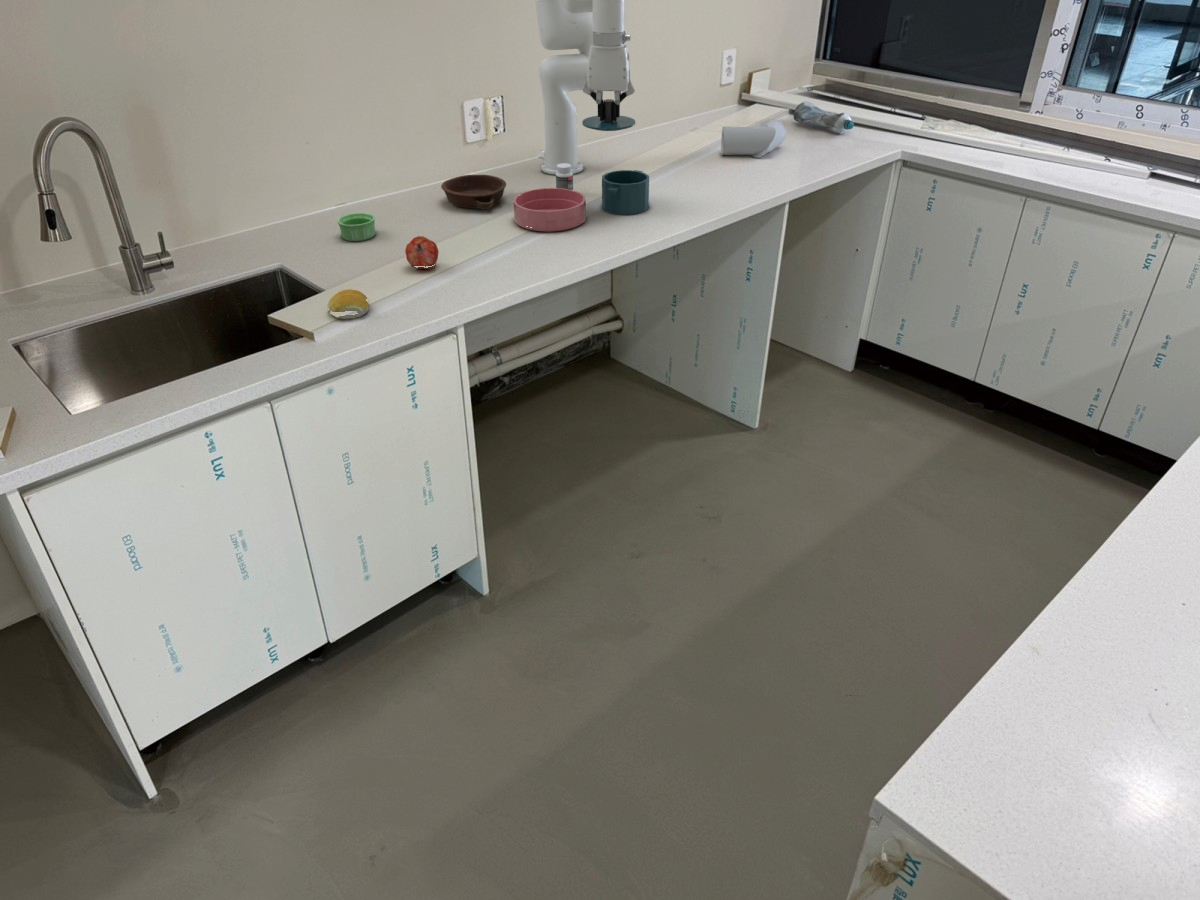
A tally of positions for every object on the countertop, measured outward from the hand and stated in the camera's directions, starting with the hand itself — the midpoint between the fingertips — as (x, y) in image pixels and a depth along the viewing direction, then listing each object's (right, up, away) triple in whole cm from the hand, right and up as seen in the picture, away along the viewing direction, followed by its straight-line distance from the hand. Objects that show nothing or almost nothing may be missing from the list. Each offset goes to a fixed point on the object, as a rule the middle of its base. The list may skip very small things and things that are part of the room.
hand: (608, 119), depth 211 cm
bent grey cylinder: (+45, +11, +56) cm, 73 cm away
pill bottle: (-12, -12, +23) cm, 29 cm away
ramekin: (-62, -30, -1) cm, 69 cm away
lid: (0, -1, +1) cm, 1 cm away
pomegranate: (-43, -41, -18) cm, 62 cm away
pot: (+5, -18, +15) cm, 24 cm away
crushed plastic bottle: (+75, +28, +80) cm, 113 cm away
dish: (-36, -15, +20) cm, 44 cm away
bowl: (-15, -23, +7) cm, 29 cm away
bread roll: (-54, -54, -36) cm, 85 cm away
